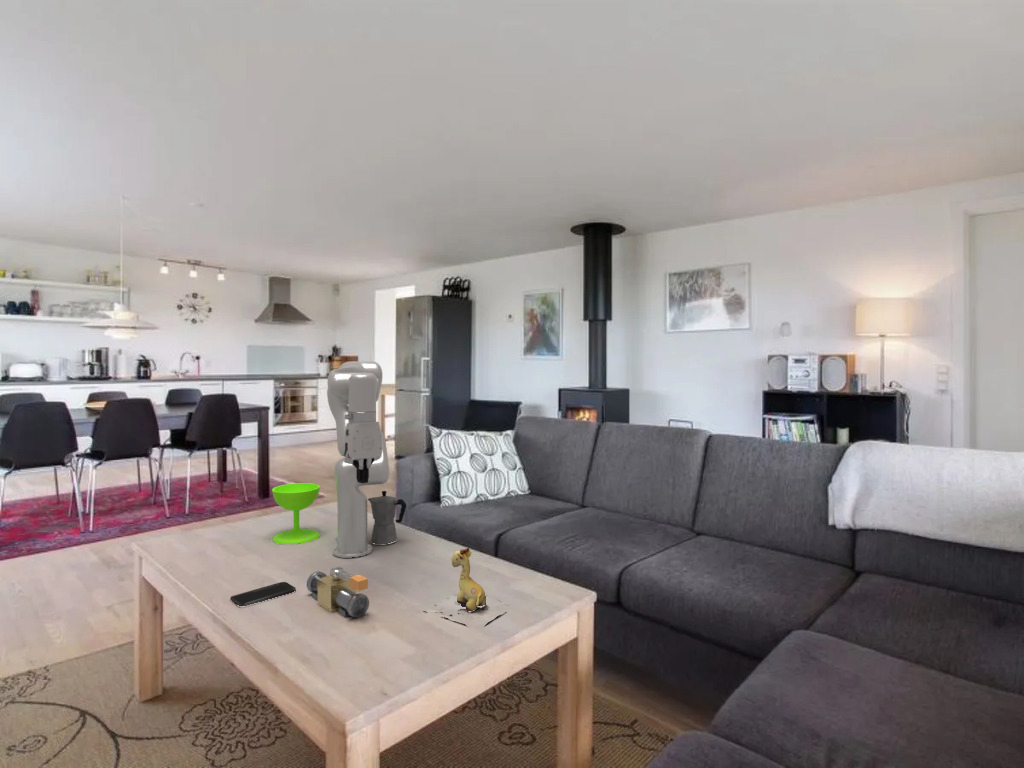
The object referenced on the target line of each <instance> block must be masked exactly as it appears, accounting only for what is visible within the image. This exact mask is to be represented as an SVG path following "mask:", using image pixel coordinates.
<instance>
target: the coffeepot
mask: <svg viewBox="0 0 1024 768" xmlns="http://www.w3.org/2000/svg"><path fill="white" fill-rule="evenodd" d="M381 493H382V495H380V496H375V497H373V496H372V497H369V498H367V501H369V503H370V505H371V506H370V507H371V513H372V519H373V521H374V524H373V526H372V527H373V528H372V534H371V539H370V543H371V542H372V543H375V544H388V543H391V542H394V541H396V539H397V540H398V534H397V530H396V529H397V528H396V523H398V524H400V523H402V522H403V519H404V515H405V512H406V509H407V503H406V502H405V501H404V499H401V498H400V499H399V498H397V497H395V496H392V495H391V496H390V495H387V493H388V492H387V491H386V490H383V491H381ZM397 505H399V506H401V507H400V513H399V514H398V516H399V517H398V519H395V517H396V511H397ZM395 522H396V523H395ZM372 543H371V544H372Z"/></svg>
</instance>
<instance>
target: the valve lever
mask: <svg viewBox="0 0 1024 768" xmlns="http://www.w3.org/2000/svg"><path fill="white" fill-rule="evenodd" d="M329 571H330V572H329V574H330V575H331V576H337V577H339V578H341V579H343V580H345V581H347V582H349V583H350V587H351V588H353V589H355V590H356V592H360V591H364V590H366V589H368V588H369V586H368V585H369V584H368V583H369V579H368V578H367V577H365V576H363V575H361V574H356V575H354V574H351V573H349V572H346V571H344V568H343V567H340V566H337V567H331V568H330V570H329ZM330 575H329V576H330Z"/></svg>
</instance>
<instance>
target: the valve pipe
mask: <svg viewBox="0 0 1024 768" xmlns="http://www.w3.org/2000/svg"><path fill="white" fill-rule="evenodd" d="M306 588H307V590H308V591H309V592H310V593H311V598H312V597H313V598H312V599H314V598H315V599H314V600H315V601H317V600H318V601H317V605H318V604H319V605H318V606H320V605H321V606H320V607H322V608H323V607H324V608H323V609H325V610H326V609H327V610H326V611H328V610H329V611H328V612H330V613H333V611H334V612H336V611H335V610H337V611H338V615H340V614H341V616H342V617H343V616H344V618H348V617H351V618H354V619H357V618H358V619H359V618H362V617H363V616H364V615H365V614H366V613H367V612H368V610H369V607H370V599H369V597H368V596H367V595H366V594H363V593H357V590H355V589H353V588H351V587H350V583H349V582H347V581H345V580H343V579H341V578H339V577H337V576H331V575H327V574H326V573H324V572H322V571H319V570H317V571H315V572H313V573H311V575H310V576H309V577H308V578H307V581H306ZM347 616H348V617H347Z"/></svg>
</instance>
